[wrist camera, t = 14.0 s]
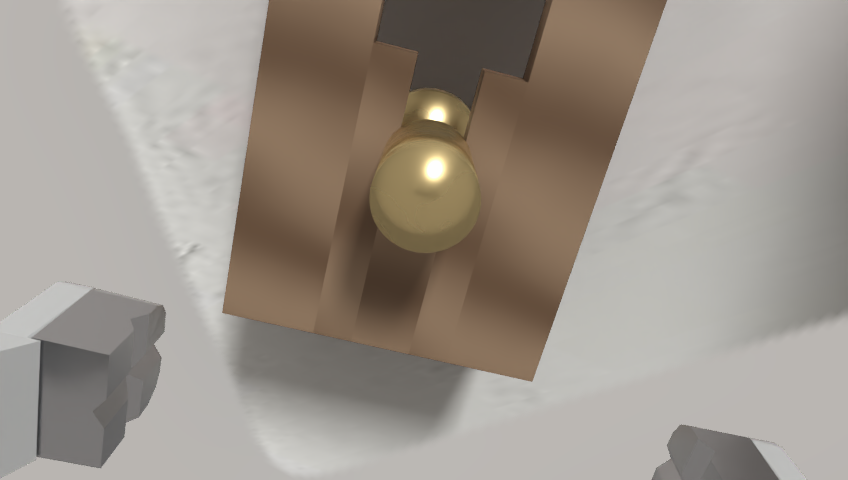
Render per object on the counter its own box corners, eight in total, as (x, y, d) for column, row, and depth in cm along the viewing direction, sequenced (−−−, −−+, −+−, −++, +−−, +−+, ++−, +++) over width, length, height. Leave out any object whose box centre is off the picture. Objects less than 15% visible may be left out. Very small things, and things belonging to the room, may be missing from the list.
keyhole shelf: (360, -247, 29) (324, -372, 19) (652, -164, 30) (753, -244, 20) (276, 235, 37) (222, 312, 27) (507, 289, 38) (532, 381, 28)
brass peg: (490, 101, 29) (518, 146, 20) (463, 198, 31) (477, 283, 21) (389, 76, 29) (367, 109, 19) (367, 175, 31) (337, 251, 21)
